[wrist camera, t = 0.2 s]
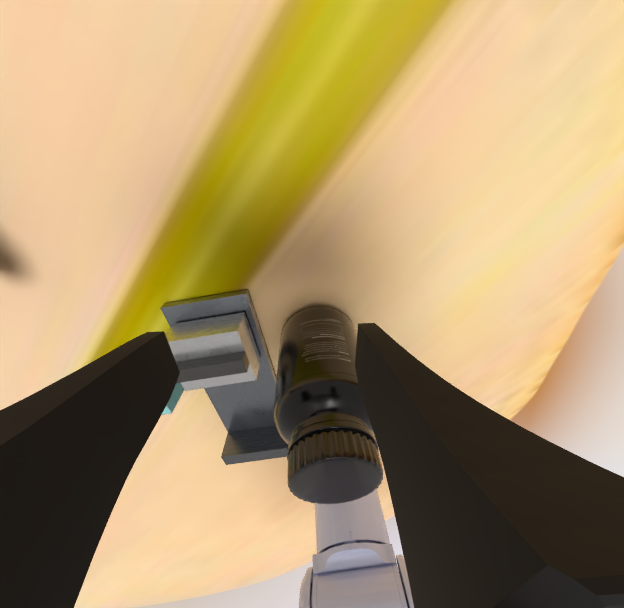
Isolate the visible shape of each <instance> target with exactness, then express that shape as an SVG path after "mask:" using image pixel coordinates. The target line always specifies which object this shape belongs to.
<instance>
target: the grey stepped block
mask: <svg viewBox="0 0 624 608" xmlns="http://www.w3.org/2000/svg"><path fill="white" fill-rule="evenodd" d="M165 335H166V338H167V340H168V343H169V345H170V348H171V351H172V353H173V356H174V358H175V361H176V363H177V366H178V369H179V371H180V374H179V377H178V380H177V382H176V383H181V384H182V386H183V388H184V389H185V391H188V390H195V389H201V388H208V387H215V386H221V385H228V384H234V383H241V382H248V381H254V380H256V379H257V375H258V370H259V365H260V360H261V357H260V355H259V352H258V349H257V346H256V343H255V340H254V337H253V335H252V332H251V329H250V326H249V323H248V320H247V317H246V315H245V312H243V313H237V314H231V315H225V316H218V317H212V318H206V319H200V320H194V321H188V322H182V323H175V324H173V325H172V326H171V327H170V329H169V330H168V331H167V332H166V333H165Z"/></svg>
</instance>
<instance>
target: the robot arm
mask: <svg viewBox="0 0 624 608" xmlns="http://www.w3.org/2000/svg"><path fill="white" fill-rule="evenodd" d="M355 369H356V374H357V379H358V384H359V389H360V392H361V395H362V398H363V402H364V405H365V408H366V411H367V414H368V417H369V420H370V423H371V426H372V429H373V432H374V435H375V438H376V441H377V444H378V447H379V450H380V454H381V457H382V461H383V465H384V469H385V473H386V478H387V482H388V486H389V490H390V495H391V499H392V504H393V508H394V513H395V517H396V522H397V526H398V530H399V535H400V540H401V545H402V550H403V555H404V557H403V556H402V555H396V558H397V563H396V559H395V555H394V551H393V547H392V544H390V541H389V537H388V533H387V529H386V524H385V520H384V516H383V512H382V508H381V504H380V500H379V495H378V491H377V489H375V490H374V491H373V492H372V493H370V494H368V495H367V496H364V497H362V498H360V499H357V500H354V501H350V502H346V503H339V504H318V503H315V519H316V542H317V554H314V555H313V567H310V568H308V569H307V571H306V574H305V576H304V578H303V580H302V583H301V589H300V599H299V608H624V477H622V476H619V475H617V474H615V473H613V472H611V471H609V470H606V469H604V468H602V467H600V466H598V465H595V464H593V463H591V462H589V461H587V460H585V459H583V458H581V457H579V456H577V455H575V454H573V453H571V452H569V451H567V450H565V449H563V448H561V447H559V446H557V445H555V444H553V443H551V442H549V441H547V440H545V439H543V438H541V437H539V436H538V435H536V434H534V433H532V432H530V431H528V430H526V429H524V428H523V427H521V426H519V425H517V424H515V423H514V422H512V421H510V420H508V419H507V418H505V417H503V416H501V415H500V414H498V413H496V412H494V411H492V410H491V409H489V408H487V407H486V406H484V405H482V404H481V403H479V402H477V401H476V400H474V399H473V398H471V397H470V396H468V395H467V394H465V393H463V392H462V391H460V390H459V389H457V388H456V387H454V386H453V385H451V384H450V383H448V382H447V381H445V380H444V379H443V378H441V377H440V376H438V375H437V374H436V373H434V372H433V371H432V370H430V369H429V368H428V367H426V366H425V365H424V364H422V363H421V362H420V361H419V360H417V359H416V358H415V357H414V356H412V355H411V354H410V353H409V352H407V351H406V350H405V349H404V348H403V347H401V346H400V345H399V344H398V343H397V342H396V341H394V340H393V339H392V338H391V337H390V336H389V335H388V334H387V333H385V332H384V331H383V330H382V329H381V328H380V327H379V326H377V325H376V324H375V323H363V324H358V333H357V344H356V355H355ZM179 374H180V371H179V369H178V366H177V363H176V361H175V358H174V356H173V353H172V351H171V348H170V345H169V343H168V340H167V338H166V335H165V332H147V333H145V334H142V335H140V336H138V337H136V338H134V339H132V340H130V341H129V342H127V343H125V344H123V345H121V346H120V347H118V348H116V349H114V350H112V351H111V352H109V353H107V354H105V355H104V356H102V357H100V358H98V359H97V360H95V361H93V362H91V363H90V364H88V365H86V366H84V367H82V368H81V369H79V370H77V371H75V372H73V373H72V374H70V375H68V376H66V377H64V378H62V379H60V380H59V381H57V382H55V383H53V384H51V385H49V386H47V387H46V388H44V389H42V390H40V391H38V392H36V393H34V394H32V395H31V396H29V397H27V398H25V399H23V400H21V401H19V402H17V403H15V404H13V405H11V406H9V407H7V408H4V409H2V410H0V608H74V606H75V603H76V600H77V598H78V595H79V592H80V590H81V587H82V585H83V582H84V579H85V577H86V574H87V571H88V569H89V566H90V563H91V561H92V558H93V556H94V553H95V551H96V548H97V546H98V543H99V541H100V539H101V536H102V534H103V531H104V529H105V527H106V524H107V522H108V519H109V517H110V515H111V512H112V510H113V508H114V505H115V503H116V501H117V499H118V497H119V494H120V492H121V490H122V488H123V485H124V483H125V481H126V479H127V477H128V475H129V473H130V471H131V469H132V467H133V465H134V463H135V461H136V459H137V457H138V456H139V454H140V452H141V450H142V448H143V447H144V445H145V443H146V441H147V440H148V438H149V436H150V434H151V432H152V431H153V429H154V427H155V425H156V423H157V422H158V420H159V418H160V416H161V414H162V413H163V411H164V409H165V407H166V405H167V403H168V401H169V400H170V397H171V395H172V393H173V390H174V388H175V385H176V382H177V380H178V377H179ZM397 564H398V567H397ZM398 568H399V571H398ZM399 574H400V575H399Z"/></svg>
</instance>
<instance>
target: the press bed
mask: <svg viewBox="0 0 624 608" xmlns="http://www.w3.org/2000/svg"><path fill="white" fill-rule="evenodd" d="M161 310H162V312H163V314H164V316H165V318H166V319H167V321H168V323H169V325H170V327H171V326H172V325H173V324H175V323H182V322H188V321H194V320H200V319H206V318H212V317H218V316H225V315H231V314H237V313H243V312H245V315H246V317H247V320H248V323H249V326H250V329H251V332H252V335H253V337H254V340H255V343H256V346H257V349H258V352H259V355H260V357H261V360H260V365H259V370H258V375H257V379H256V380H254V381H248V382H241V383H234V384H228V385H221V386H215V387H208V388H204V389H205V391H206V393H207V394H208V396H209V398H210V400H211V402H212V404H213V405H214V407H215V409H216V411H217V413H218V415H219V416H220V418H221V420H222V422H223V424H224V425H225V427H226V429H227V431H228V435H227V438H226V442H225V445H224V449H223V453H222V456H221V457H222V459H223V461H224V462H225V464H226V465H228V464H235V463H243V462H250V461H257V460H265V459H272V458H279V457H286V456H287V448H288V444H287V443H286V442H285V441H284V440H283V439H282V437H281V436H280V434H279V433H278V431H277V429H276V426H275V423H274V401H275V391H276V381H277V378H276V375H275V372H274V369H273V366H272V363H271V360H270V357H269V353H268V350H267V347H266V344H265V341H264V338H263V335H262V332H261V329H260V326H259V323H258V320H257V317H256V314H255V310H254V307H253V304H252V301H251V298H250V295H249V292H248V289H247V290H241V291H235V292H229V293H223V294H217V295H211V296H205V297H199V298H193V299H187V300H181V301H175V302H169V303H165V304H164V305H163V306H162V307H161Z"/></svg>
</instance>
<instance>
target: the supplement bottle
mask: <svg viewBox="0 0 624 608" xmlns="http://www.w3.org/2000/svg"><path fill="white" fill-rule="evenodd" d="M356 344H357V333H356V330H355V328H354V326H353V324H352V322H351V321H350V319H349V318H348V317H347V316H346V315H344V314H343V313H342V312H340V311H338V310H336V309H333V308H329V307H311V308H307V309H304V310H302V311H300V312H298V313H296V314H295V315H293V316H292V317H291V318H290V319H289V320H288V321H287V323H286V324H285V326H284V328H283V331H282V334H281V341H280V350H279V360H278V370H277V381H276V391H275V401H274V423H275V426H276V429H277V431H278V433H279V434H280V436H281V437H282V439H283V440H284V441H285V442H286V443H287V444H288V448H287V459H288V487H289V488H290V491H291V492H292V493H293V494H294V495H295V496H297V497H298V498H299V499H303V500H304V501H308V502H311V503H318V504H339V503H346V502H350V501H354V500H357V499H360V498H362V497H364V496H367V495H368V494H370V493H372V492H373V491H374V490H375V489H377V488H378V486H379V485H380V484H381V481H382V479H383V470H382V466H381V462H380V459H379V455H378V445H377V442H376V439H375V436H374V432H373V429H372V426H371V423H370V420H369V417H368V414H367V411H366V408H365V405H364V402H363V398H362V395H361V392H360V389H359V384H358V379H357V374H356V369H355V355H356Z"/></svg>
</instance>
